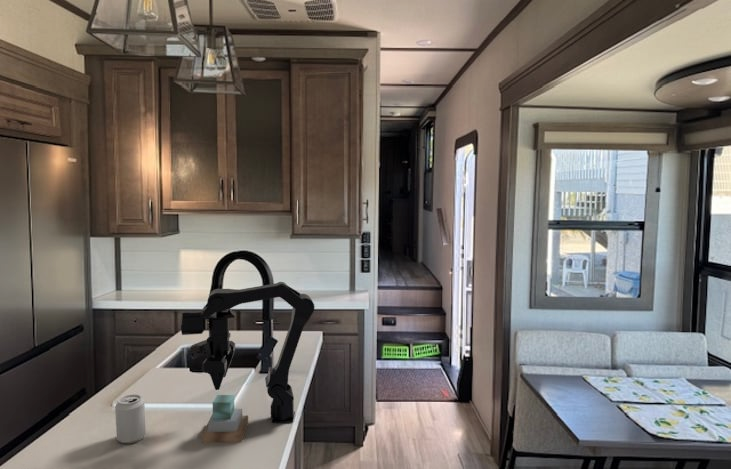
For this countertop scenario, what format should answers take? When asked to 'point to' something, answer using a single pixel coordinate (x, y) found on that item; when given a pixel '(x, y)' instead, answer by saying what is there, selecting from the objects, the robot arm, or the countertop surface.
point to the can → (130, 419)
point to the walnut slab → (226, 433)
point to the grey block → (226, 423)
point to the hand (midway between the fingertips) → (220, 383)
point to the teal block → (223, 407)
